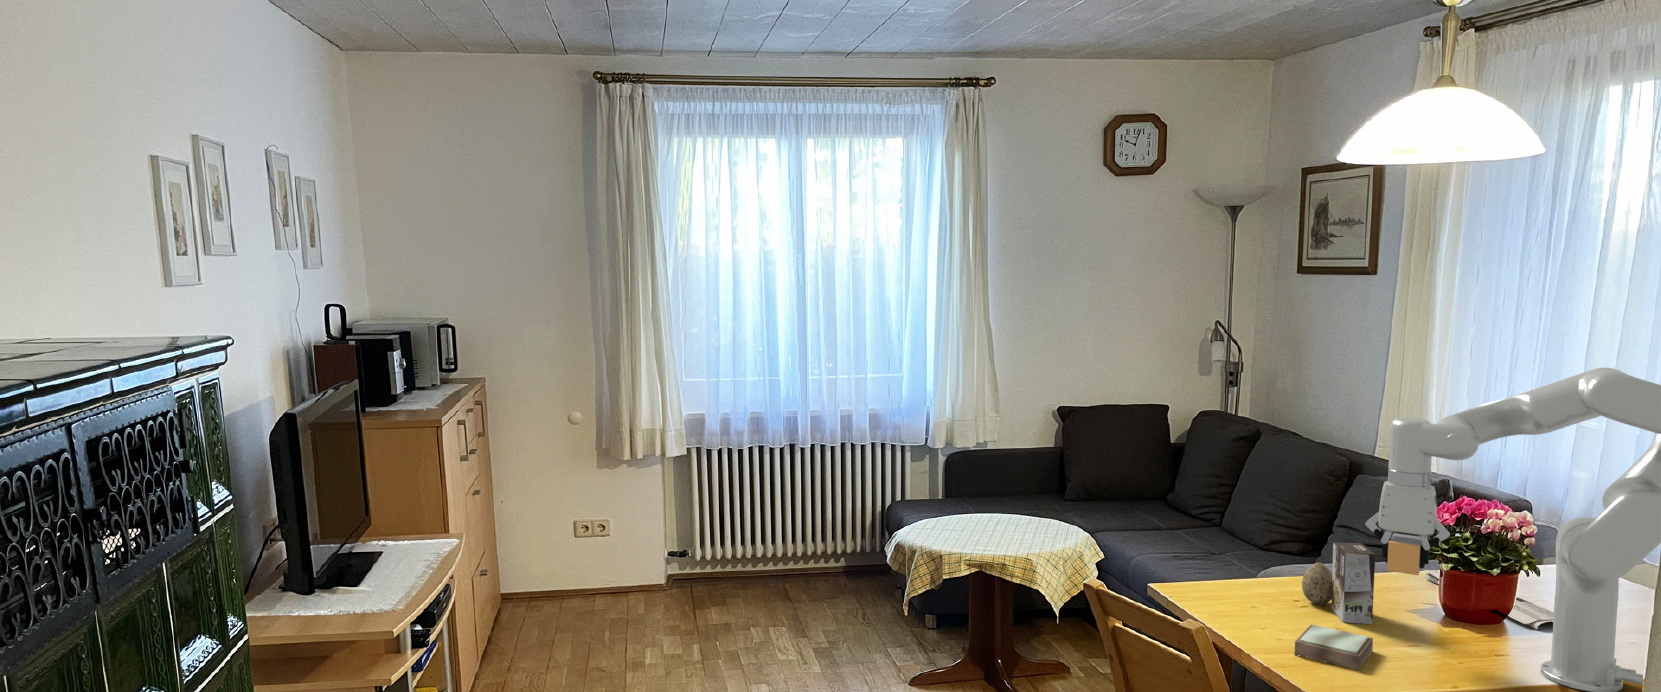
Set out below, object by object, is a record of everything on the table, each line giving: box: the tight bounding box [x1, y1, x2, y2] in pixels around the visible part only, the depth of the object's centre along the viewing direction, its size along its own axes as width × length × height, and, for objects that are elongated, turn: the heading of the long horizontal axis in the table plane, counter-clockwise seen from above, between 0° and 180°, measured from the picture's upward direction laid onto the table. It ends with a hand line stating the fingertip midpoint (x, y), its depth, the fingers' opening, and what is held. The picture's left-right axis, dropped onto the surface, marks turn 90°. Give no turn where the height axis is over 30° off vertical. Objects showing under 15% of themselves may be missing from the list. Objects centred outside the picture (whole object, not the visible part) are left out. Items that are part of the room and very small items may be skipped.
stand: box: [1294, 624, 1374, 671], centre depth 201 cm, size 12×12×3 cm
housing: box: [1386, 532, 1422, 576], centre depth 201 cm, size 6×8×6 cm
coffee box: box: [1330, 542, 1376, 625], centre depth 221 cm, size 9×6×16 cm
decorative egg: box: [1301, 562, 1332, 605], centre depth 229 cm, size 7×7×10 cm
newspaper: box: [1422, 568, 1554, 630], centre depth 230 cm, size 35×12×4 cm, turn 7°
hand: (1405, 563), depth 201 cm, fingers closed on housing, 5 cm apart
